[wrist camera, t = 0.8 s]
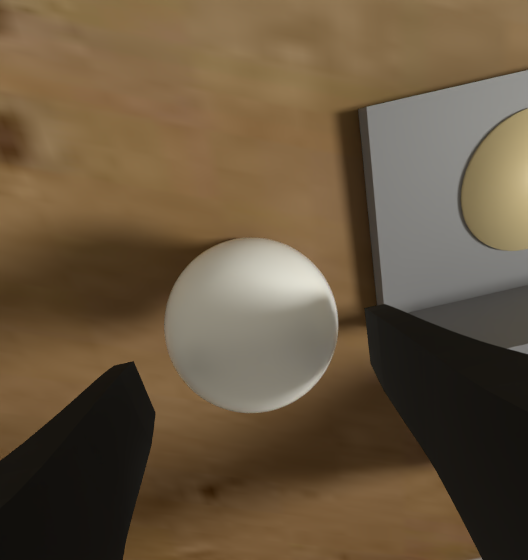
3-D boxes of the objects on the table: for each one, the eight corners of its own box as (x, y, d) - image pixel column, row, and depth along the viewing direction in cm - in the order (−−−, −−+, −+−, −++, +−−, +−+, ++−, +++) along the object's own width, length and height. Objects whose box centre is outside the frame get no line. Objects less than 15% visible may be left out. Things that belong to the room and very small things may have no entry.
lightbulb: (186, 303, 21) (144, 453, 11) (193, 197, 19) (146, 260, 9) (289, 311, 22) (339, 459, 12) (307, 211, 20) (388, 283, 9)
